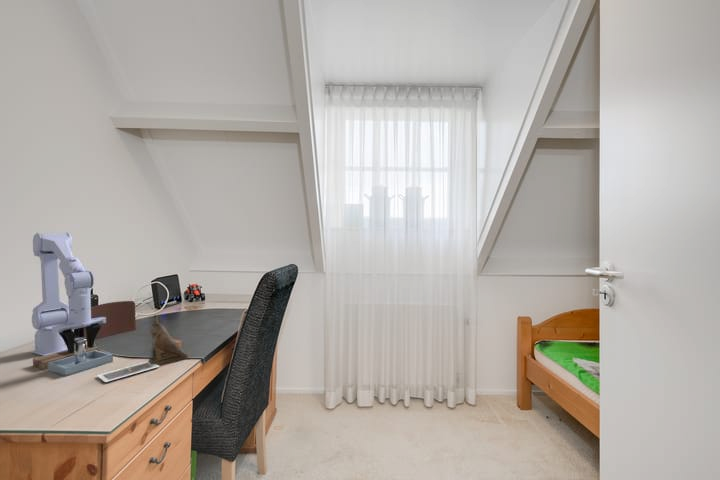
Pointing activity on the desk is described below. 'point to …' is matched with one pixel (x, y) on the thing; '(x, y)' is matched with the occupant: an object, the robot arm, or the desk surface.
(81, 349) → the steel pin
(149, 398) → the desk surface
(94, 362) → the tray
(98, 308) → the letter holder
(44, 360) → the brown flat block
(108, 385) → the desk surface
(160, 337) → the brown carved statuette
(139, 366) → the touchpad
